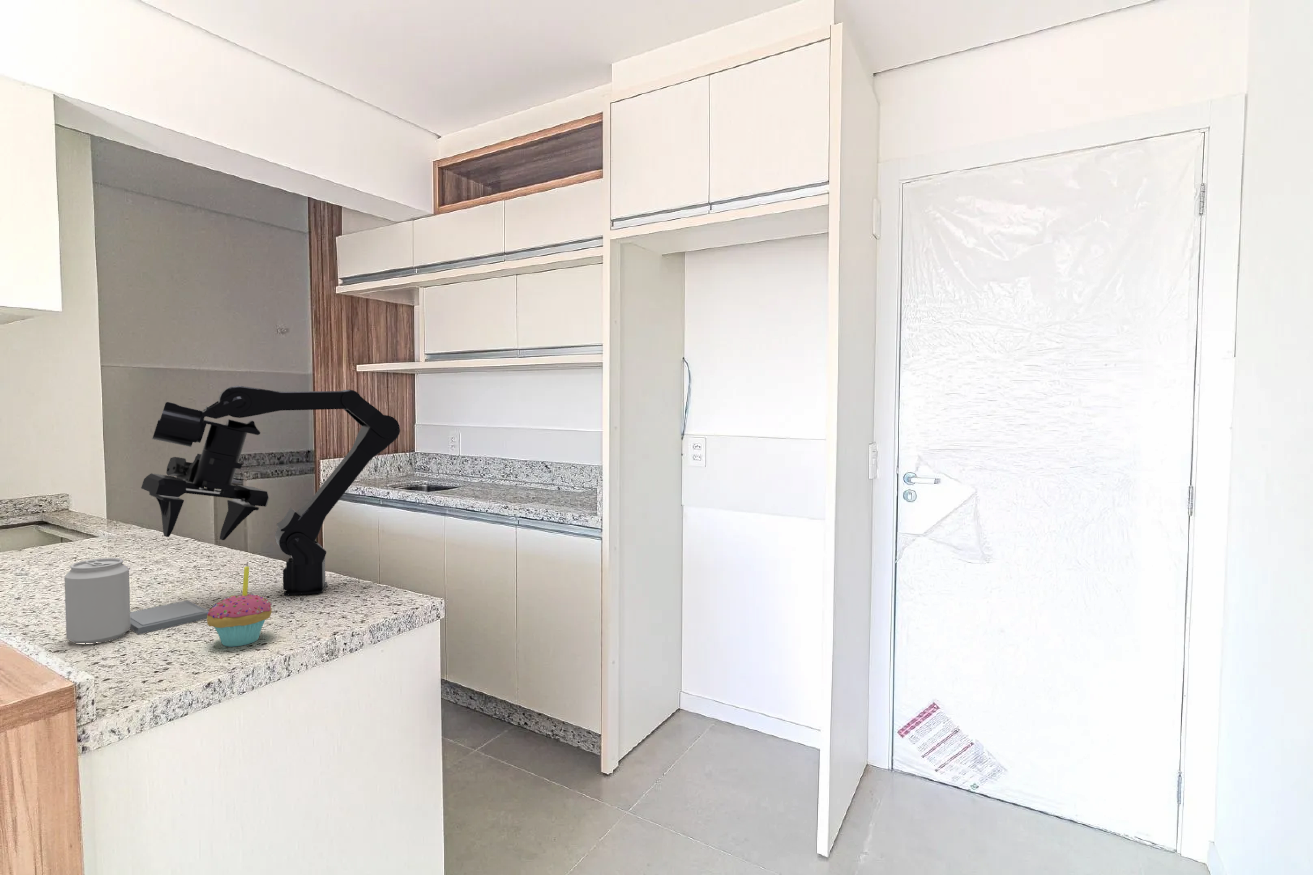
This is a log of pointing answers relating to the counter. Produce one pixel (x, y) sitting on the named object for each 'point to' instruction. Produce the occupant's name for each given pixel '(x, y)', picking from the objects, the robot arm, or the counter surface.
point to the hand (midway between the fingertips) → (195, 538)
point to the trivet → (166, 616)
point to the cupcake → (239, 616)
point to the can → (97, 600)
